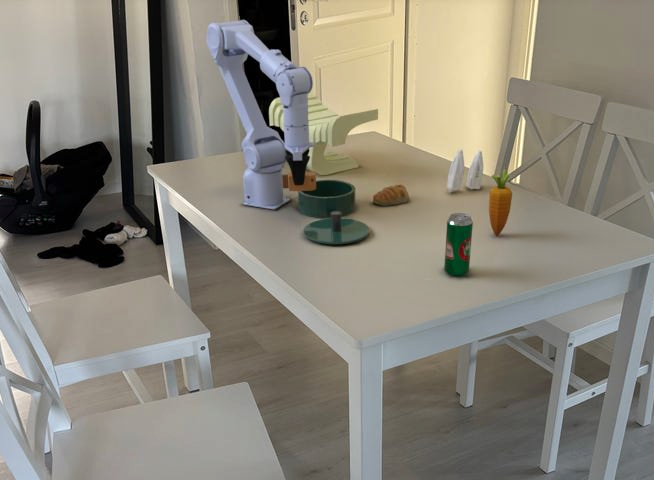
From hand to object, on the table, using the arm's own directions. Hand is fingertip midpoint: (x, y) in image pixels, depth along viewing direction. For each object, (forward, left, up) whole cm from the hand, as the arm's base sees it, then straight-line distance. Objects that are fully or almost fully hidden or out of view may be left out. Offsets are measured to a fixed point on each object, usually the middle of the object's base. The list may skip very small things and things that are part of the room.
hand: (298, 182), depth 177 cm
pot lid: (+13, -7, -8) cm, 17 cm away
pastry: (+16, +19, -9) cm, 26 cm away
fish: (0, 0, -2) cm, 2 cm away
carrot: (+47, +7, -9) cm, 49 cm away
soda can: (+45, -16, -9) cm, 49 cm away
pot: (+3, +8, -8) cm, 12 cm away
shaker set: (+30, +35, -9) cm, 47 cm away
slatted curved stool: (-14, +39, -9) cm, 42 cm away
